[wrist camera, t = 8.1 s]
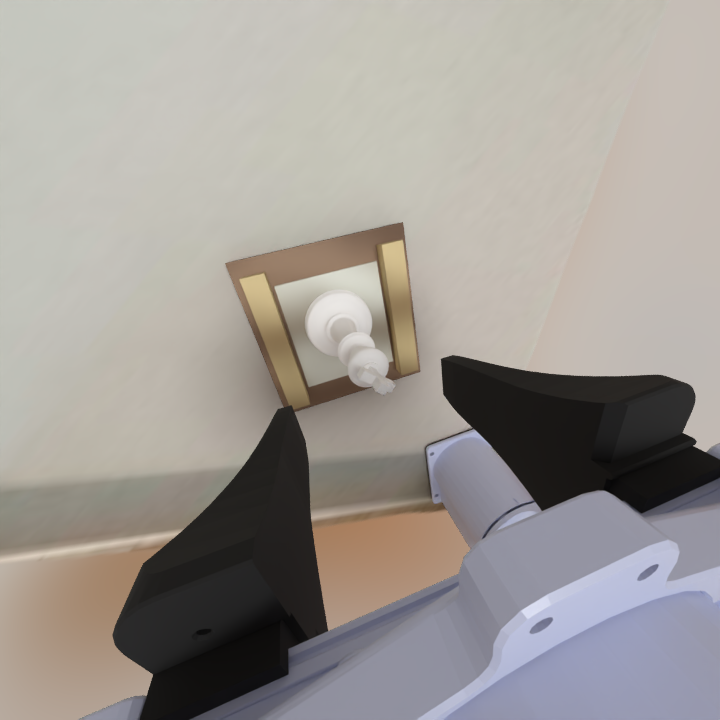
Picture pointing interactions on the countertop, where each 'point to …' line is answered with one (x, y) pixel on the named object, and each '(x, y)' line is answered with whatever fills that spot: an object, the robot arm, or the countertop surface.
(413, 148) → the countertop surface
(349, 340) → the chess piece
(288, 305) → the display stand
